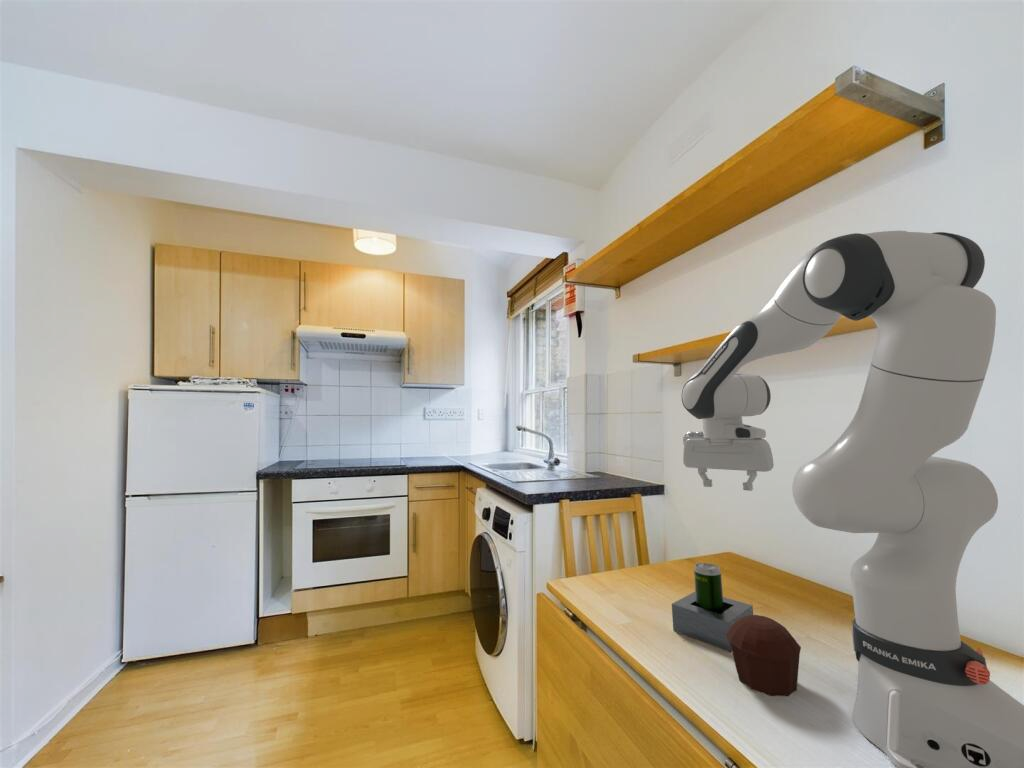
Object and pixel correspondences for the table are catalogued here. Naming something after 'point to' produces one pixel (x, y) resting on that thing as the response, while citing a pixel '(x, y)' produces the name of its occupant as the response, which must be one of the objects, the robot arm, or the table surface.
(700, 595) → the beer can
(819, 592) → the table surface
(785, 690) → the muffin
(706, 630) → the holder block
